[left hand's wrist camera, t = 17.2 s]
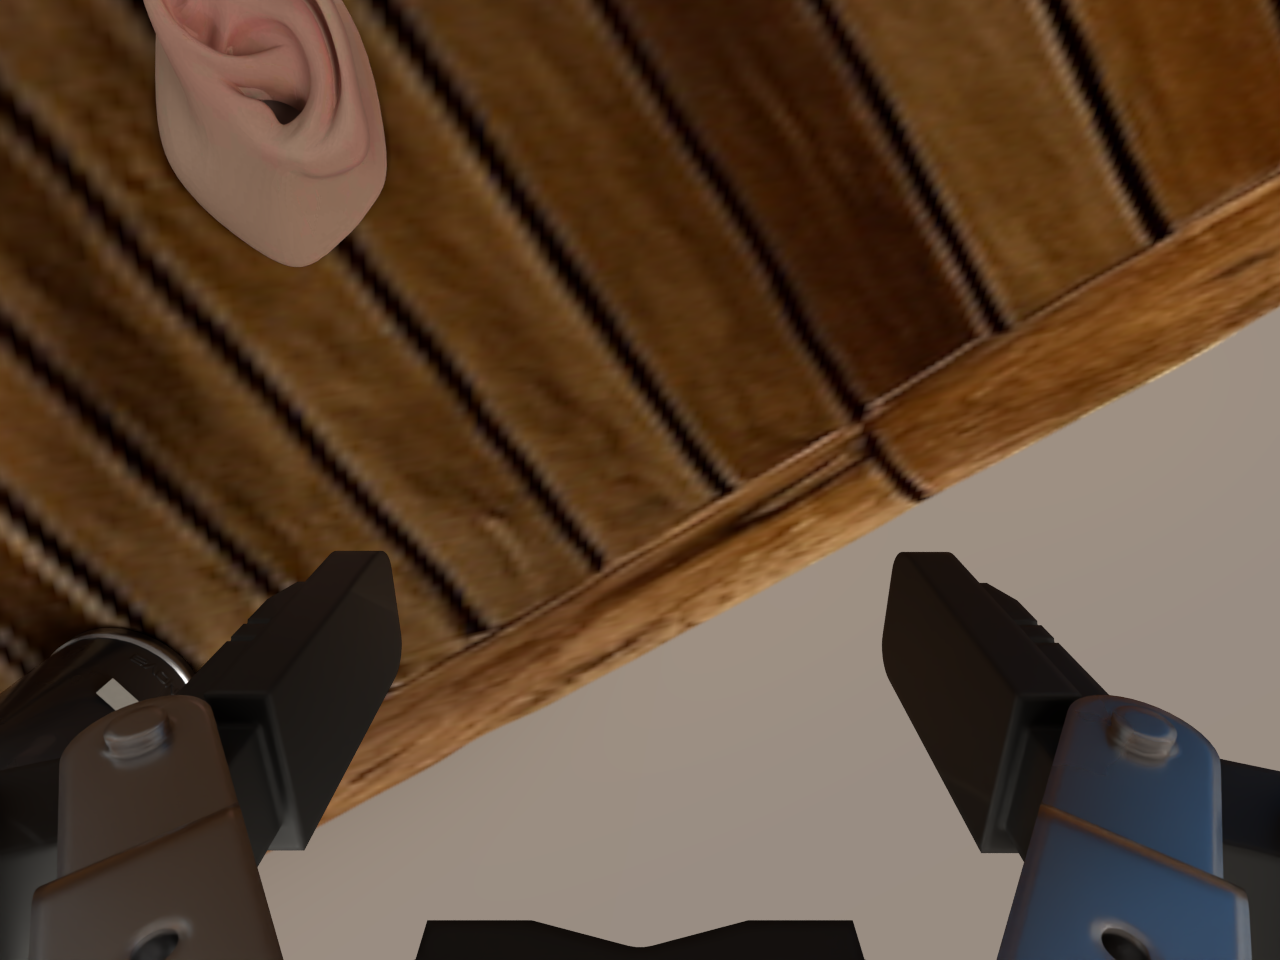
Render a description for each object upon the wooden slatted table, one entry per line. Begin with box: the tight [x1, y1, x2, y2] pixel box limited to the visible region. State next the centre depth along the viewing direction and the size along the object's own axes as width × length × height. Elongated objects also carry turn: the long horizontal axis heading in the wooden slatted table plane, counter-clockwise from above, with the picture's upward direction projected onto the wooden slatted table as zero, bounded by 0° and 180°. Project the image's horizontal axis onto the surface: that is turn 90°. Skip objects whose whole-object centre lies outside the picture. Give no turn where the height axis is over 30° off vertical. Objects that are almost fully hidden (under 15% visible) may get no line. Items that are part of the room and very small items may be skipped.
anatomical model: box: [143, 0, 387, 267], centre depth 31 cm, size 13×4×12 cm
